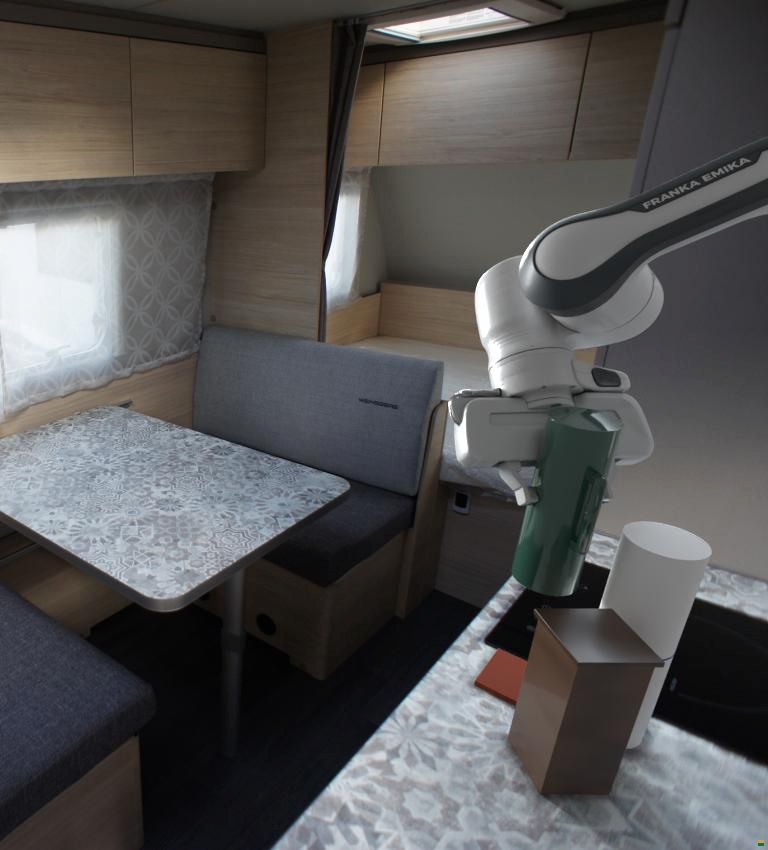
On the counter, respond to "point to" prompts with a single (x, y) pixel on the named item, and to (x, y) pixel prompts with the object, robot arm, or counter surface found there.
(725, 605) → the counter surface
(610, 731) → the stand
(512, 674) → the pad
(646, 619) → the cylindrical container
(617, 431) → the jug
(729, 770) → the counter surface
